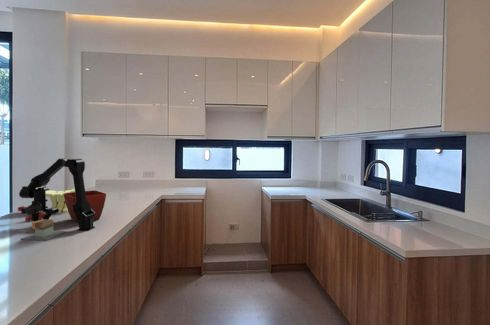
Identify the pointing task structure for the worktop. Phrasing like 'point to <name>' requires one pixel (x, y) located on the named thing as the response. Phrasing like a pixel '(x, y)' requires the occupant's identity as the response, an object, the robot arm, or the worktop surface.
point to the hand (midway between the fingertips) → (40, 225)
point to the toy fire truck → (30, 216)
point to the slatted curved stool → (61, 200)
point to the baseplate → (32, 237)
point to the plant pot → (94, 199)
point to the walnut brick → (44, 224)
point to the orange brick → (34, 224)
